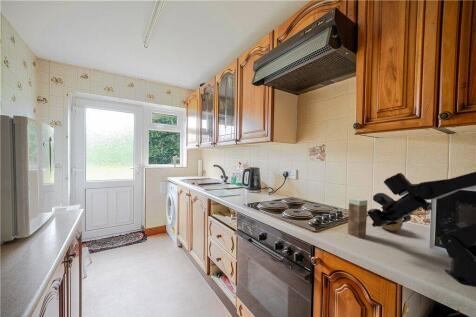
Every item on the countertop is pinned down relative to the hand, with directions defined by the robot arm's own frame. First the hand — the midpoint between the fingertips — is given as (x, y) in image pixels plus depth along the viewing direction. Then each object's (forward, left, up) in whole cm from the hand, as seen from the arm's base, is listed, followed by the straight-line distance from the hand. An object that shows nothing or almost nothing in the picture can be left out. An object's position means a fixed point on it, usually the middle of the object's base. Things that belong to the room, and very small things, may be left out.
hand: (373, 225), depth 83 cm
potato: (+19, -12, -7) cm, 24 cm away
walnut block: (+5, +5, -7) cm, 10 cm away
